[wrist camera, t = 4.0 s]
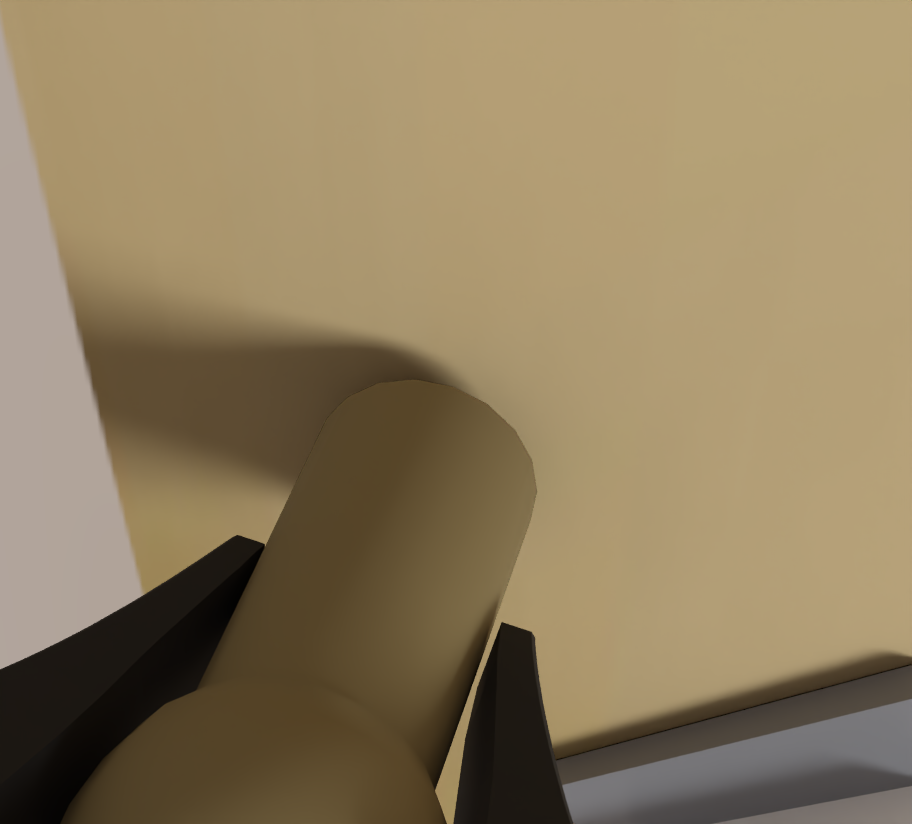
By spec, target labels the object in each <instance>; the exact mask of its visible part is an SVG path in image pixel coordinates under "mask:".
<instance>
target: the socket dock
mask: <svg viewBox="0 0 912 824" xmlns="http://www.w3.org/2000/svg"><path fill="white" fill-rule="evenodd" d="M556 764H557V768H558V772H559V776H560V779H561V783H562V786H563V790H564V794H565V797H566V801H567V804H568V807H569V811H570V814H571V817H572V821H573V823H574V824H912V665H910V666H906V667H902V668H898V669H895V670H891V671H887V672H884V673H880V674H876V675H872V676H869V677H865V678H861V679H858V680H854V681H850V682H846V683H843V684H839V685H835V686H831V687H828V688H824V689H820V690H817V691H813V692H809V693H805V694H802V695H798V696H794V697H791V698H787V699H783V700H779V701H776V702H772V703H768V704H765V705H761V706H757V707H753V708H750V709H746V710H742V711H739V712H735V713H731V714H727V715H724V716H720V717H716V718H712V719H709V720H705V721H701V722H698V723H694V724H690V725H686V726H683V727H679V728H675V729H672V730H668V731H664V732H660V733H657V734H653V735H649V736H646V737H642V738H638V739H634V740H631V741H627V742H623V743H620V744H616V745H612V746H608V747H605V748H601V749H597V750H593V751H590V752H586V753H582V754H579V755H575V756H571V757H567V758H564V759H560V760H556Z"/></svg>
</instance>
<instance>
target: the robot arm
mask: <svg viewBox="0 0 912 824" xmlns="http://www.w3.org/2000/svg"><path fill="white" fill-rule="evenodd" d="M264 548H265V544H263V543H260V542H257V541H254V540H251V539H248V538H245V537H242V536H239V535H236V536H234V537H232V538H231V539H229V540H228V541H226V542H225V543H223V544H222V545H220V546H219V547H217V548H216V549H214V550H213V551H211V552H210V553H208V554H207V555H205V556H204V557H203V558H201V559H200V560H198V561H197V562H195V563H194V564H192V565H190V566H189V567H187V568H186V569H184V570H183V571H181V572H180V573H178V574H177V575H175V576H174V577H172V578H170V579H169V580H167V581H166V582H164V583H162V584H161V585H159V586H158V587H156V588H154V589H153V590H151V591H149V592H148V593H146V594H145V595H143V596H141V597H140V598H138V599H136V600H135V601H133V602H132V603H130V604H128V605H126V606H125V607H123V608H121V609H119V610H117V611H116V612H114V613H112V614H110V615H109V616H107V617H105V618H103V619H101V620H100V621H98V622H97V623H94V624H93V625H91V626H89V627H87V628H85V629H83V630H82V631H80V632H78V633H76V634H74V635H72V636H70V637H68V638H66V639H64V640H62V641H60V642H58V643H56V644H54V645H52V646H50V647H48V648H46V649H44V650H42V651H40V652H38V653H36V654H34V655H31V656H29V657H27V658H25V659H23V660H21V661H18V662H16V663H14V664H11V665H9V666H7V667H5V668H3V669H0V824H60V823H61V821H62V819H63V817H64V815H65V812H66V810H67V808H68V806H69V804H70V803H71V801H72V800H73V798H74V797H75V796H76V794H77V793H78V792H79V790H80V789H81V788H82V786H83V785H84V784H85V782H86V781H87V780H88V778H89V777H90V775H91V774H92V773H93V771H94V770H95V769H96V767H97V766H98V765H99V763H100V762H101V761H102V759H103V758H104V757H105V756H106V755H108V754H109V753H110V752H111V751H112V750H113V749H114V748H115V747H116V746H117V745H118V744H119V743H121V742H122V741H123V740H124V739H125V738H126V737H127V736H128V735H129V734H130V733H131V732H133V731H134V730H135V729H136V728H137V727H138V726H139V725H140V724H141V723H142V722H144V721H145V720H146V719H147V718H149V717H150V716H151V715H152V714H153V713H155V712H156V711H157V710H158V709H160V708H161V707H162V706H163V705H164V704H166V703H168V702H171V701H173V700H175V699H178V698H180V697H182V696H184V695H187V694H189V693H191V692H194V691H196V690H197V688H198V685H199V683H200V681H201V679H202V677H203V675H204V673H205V671H206V669H207V667H208V665H209V663H210V660H211V658H212V656H213V654H214V652H215V650H216V648H217V646H218V644H219V642H220V640H221V638H222V636H223V633H224V631H225V629H226V627H227V625H228V623H229V621H230V619H231V617H232V615H233V613H234V611H235V608H236V606H237V604H238V602H239V600H240V598H241V596H242V594H243V592H244V590H245V588H246V586H247V583H248V581H249V579H250V577H251V575H252V573H253V571H254V569H255V567H256V565H257V563H258V561H259V559H260V556H261V554H262V552H263V550H264ZM454 824H573V821H572V817H571V814H570V811H569V807H568V804H567V801H566V797H565V794H564V790H563V786H562V783H561V779H560V776H559V772H558V768H557V764H556V760H555V756H554V752H553V748H552V743H551V739H550V734H549V730H548V725H547V720H546V716H545V711H544V705H543V700H542V694H541V688H540V682H539V675H538V667H537V659H536V647H535V637H534V635H533V634H532V632H530V631H527V630H524V629H521V628H518V627H515V626H512V625H509V624H506V623H503V622H502V623H501V625H500V628H499V631H498V634H497V636H496V639H495V642H494V644H493V647H492V650H491V652H490V655H489V658H488V660H487V663H486V666H485V668H484V671H483V674H482V676H481V679H480V682H479V685H478V687H477V691H476V696H475V700H474V704H473V708H472V712H471V717H470V721H469V725H468V729H467V734H466V738H465V744H464V751H463V759H462V766H461V773H460V780H459V787H458V794H457V802H456V809H455V816H454Z"/></svg>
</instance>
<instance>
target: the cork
mask: <svg viewBox="0 0 912 824" xmlns="http://www.w3.org/2000/svg"><path fill="white" fill-rule="evenodd" d="M536 494H537V488H536V482H535V476H534V470H533V464H532V459H531V458H530V456H529V454H528V452H527V450H526V449H525V447H524V445H523V443H522V442H521V440H520V438H519V436H518V434H517V433H516V431H515V430H514V429H513V428H512V427H511V426H510V425H509V424H508V423H507V422H506V421H505V420H504V419H503V418H502V417H501V416H499V415H498V414H497V413H496V412H495V411H494V410H493V409H492V408H491V407H490V406H489V405H488V404H486V403H484V402H482V401H480V400H478V399H476V398H474V397H472V396H470V395H468V394H466V393H464V392H462V391H460V390H458V389H456V388H454V387H452V386H447V385H441V384H436V383H431V382H426V381H421V380H415V379H413V380H403V381H393V382H384V383H377V384H375V385H373V386H371V387H368V388H366V389H364V390H362V391H360V392H358V393H355V394H353V395H351V396H349V397H347V398H346V399H345V400H344V401H343V402H342V403H341V405H340V406H339V407H338V408H337V409H336V410H335V411H334V412H333V413H332V414H331V415H330V416H329V417H328V418H327V419H326V421H325V423H324V425H323V427H322V429H321V432H320V434H319V436H318V438H317V440H316V442H315V444H314V446H313V448H312V450H311V452H310V454H309V457H308V459H307V461H306V463H305V465H304V467H303V469H302V471H301V473H300V475H299V477H298V479H297V482H296V484H295V486H294V488H293V490H292V492H291V494H290V496H289V498H288V500H287V502H286V504H285V506H284V509H283V511H282V513H281V515H280V517H279V519H278V521H277V523H276V525H275V527H274V529H273V531H272V534H271V536H270V538H269V540H268V542H267V544H266V546H265V548H264V550H263V552H262V554H261V556H260V559H259V561H258V563H257V565H256V567H255V569H254V571H253V573H252V575H251V577H250V579H249V581H248V583H247V586H246V588H245V590H244V592H243V594H242V596H241V598H240V600H239V602H238V604H237V606H236V608H235V611H234V613H233V615H232V617H231V619H230V621H229V623H228V625H227V627H226V629H225V631H224V633H223V636H222V638H221V640H220V642H219V644H218V646H217V648H216V650H215V652H214V654H213V656H212V658H211V660H210V663H209V665H208V667H207V669H206V671H205V673H204V675H203V677H202V679H201V681H200V683H199V685H198V688H197V690H196V691H194V692H191V693H189V694H187V695H184V696H182V697H180V698H178V699H175V700H173V701H171V702H168V703H166V704H164V705H163V706H162V707H161V708H160V709H158V710H157V711H156V712H155V713H153V714H152V715H151V716H150V717H149V718H147V719H146V720H145V721H144V722H142V723H141V724H140V725H139V726H138V727H137V728H136V729H135V730H134V731H133V732H131V733H130V734H129V735H128V736H127V737H126V738H125V739H124V740H123V741H122V742H121V743H119V744H118V745H117V746H116V747H115V748H114V749H113V750H112V751H111V752H110V753H109V754H108V755H106V756H105V757H104V758H103V759H102V761H101V762H100V763H99V765H98V766H97V767H96V769H95V770H94V771H93V773H92V774H91V775H90V777H89V778H88V780H87V781H86V782H85V784H84V785H83V786H82V788H81V789H80V790H79V792H78V793H77V794H76V796H75V797H74V798H73V800H72V801H71V803H70V804H69V806H68V808H67V810H66V812H65V815H64V817H63V819H62V821H61V823H60V824H447V823H446V820H445V817H444V814H443V811H442V809H441V806H440V803H439V800H438V798H437V795H436V793H435V789H436V786H437V783H438V781H439V778H440V775H441V772H442V769H443V766H444V764H445V761H446V758H447V755H448V752H449V749H450V747H451V744H452V741H453V738H454V735H455V732H456V730H457V727H458V724H459V721H460V718H461V715H462V713H463V710H464V707H465V704H466V701H467V699H468V696H469V693H470V690H471V687H472V684H473V682H474V679H475V676H476V673H477V670H478V667H479V665H480V662H481V659H482V656H483V653H484V650H485V648H486V645H487V642H488V639H489V636H490V633H491V631H492V628H493V625H494V622H495V619H496V616H497V614H498V611H499V608H500V605H501V602H502V599H503V597H504V594H505V591H506V588H507V585H508V582H509V580H510V577H511V574H512V571H513V568H514V565H515V563H516V560H517V557H518V554H519V551H520V548H521V546H522V543H523V540H524V537H525V534H526V531H527V529H528V526H529V523H530V520H531V516H532V511H533V507H534V503H535V498H536Z"/></svg>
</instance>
